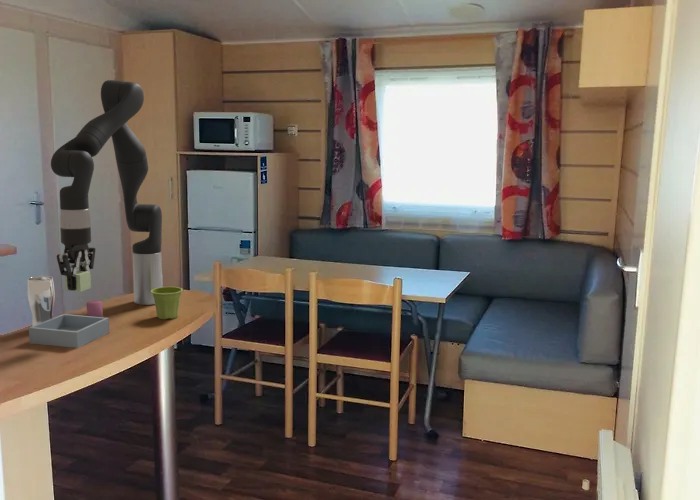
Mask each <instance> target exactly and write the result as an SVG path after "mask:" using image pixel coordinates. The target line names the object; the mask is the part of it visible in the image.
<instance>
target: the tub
mask: <svg viewBox="0 0 700 500" xmlns="http://www.w3.org/2000/svg"><path fill="white" fill-rule="evenodd" d="M109 333H110V317H104V316H103V317H92V316H87V315H79V314H68V313H63V314H61V315H57V316H55V317H53V318H52V319H50V320H47V321H44V322H42V323H39V324H37V325H34V326H32V325H31V326H30V327H28V339H29V340H28V342H29V344H33V345H34V344H35V345H45V346H54V347H64V348H73V349H79V348H81V347H83V346H85V345H88V344H89V343H92V342H94V341H95V340H97V339H99V338H101V337H103V336H105V335H107V334H109Z"/></svg>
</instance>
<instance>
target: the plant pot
mask: <svg viewBox="0 0 700 500" xmlns="http://www.w3.org/2000/svg"><path fill="white" fill-rule="evenodd" d="M182 292H183V288H182V287H179V286H178V287H177V286H163V287H160V288H155V289H153V290H151V293H152V294H153V297H154V300H155V304H154V305H155V311H156V316H157V318H158V319H161V320H168V319H176V318H177V317H179V307H180V299H181V296H182Z"/></svg>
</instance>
